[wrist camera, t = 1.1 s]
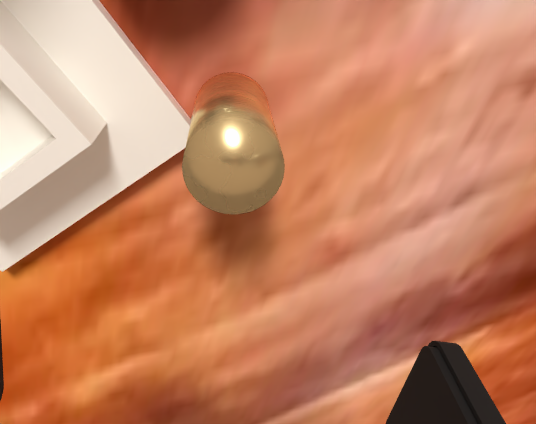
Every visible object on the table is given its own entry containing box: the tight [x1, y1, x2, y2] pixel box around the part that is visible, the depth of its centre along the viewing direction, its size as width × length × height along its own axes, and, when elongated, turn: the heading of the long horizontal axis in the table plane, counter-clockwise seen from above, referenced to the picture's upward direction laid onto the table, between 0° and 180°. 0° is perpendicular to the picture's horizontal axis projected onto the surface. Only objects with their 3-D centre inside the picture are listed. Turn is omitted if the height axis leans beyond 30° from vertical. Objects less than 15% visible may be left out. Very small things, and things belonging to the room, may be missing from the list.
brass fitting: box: [182, 72, 284, 214], centre depth 25 cm, size 4×4×9 cm
